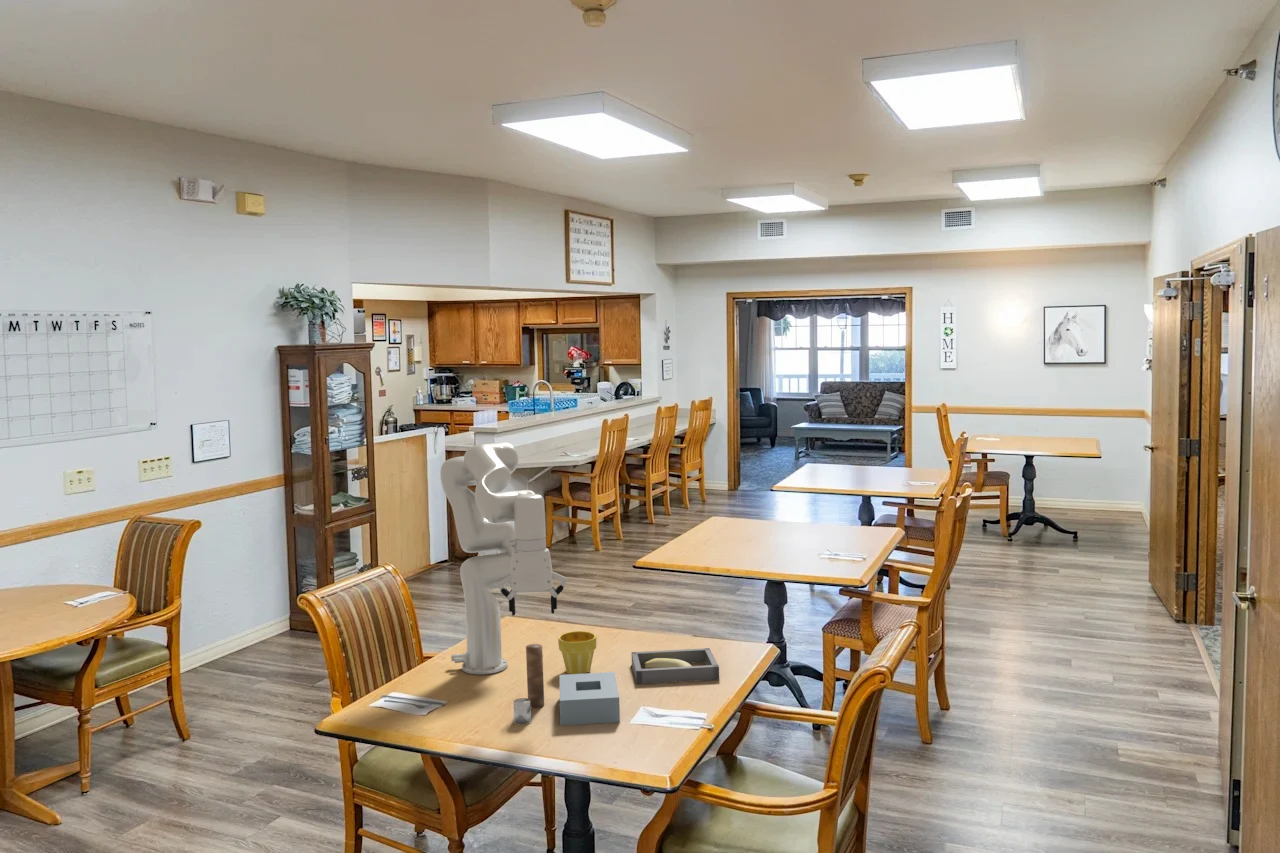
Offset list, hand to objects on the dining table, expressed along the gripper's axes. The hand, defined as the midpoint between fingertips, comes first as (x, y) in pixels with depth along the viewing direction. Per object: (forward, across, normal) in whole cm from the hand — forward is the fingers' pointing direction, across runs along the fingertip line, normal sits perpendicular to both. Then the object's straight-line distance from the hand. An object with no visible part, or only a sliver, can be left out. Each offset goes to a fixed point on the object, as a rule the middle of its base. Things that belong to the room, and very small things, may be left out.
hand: (533, 613), depth 234 cm
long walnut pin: (+23, 0, 0) cm, 23 cm away
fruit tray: (+23, +37, +19) cm, 48 cm away
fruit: (+24, +36, +19) cm, 47 cm away
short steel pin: (+24, -3, -10) cm, 26 cm away
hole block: (+24, +13, -5) cm, 27 cm away
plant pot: (+24, +11, +24) cm, 36 cm away
